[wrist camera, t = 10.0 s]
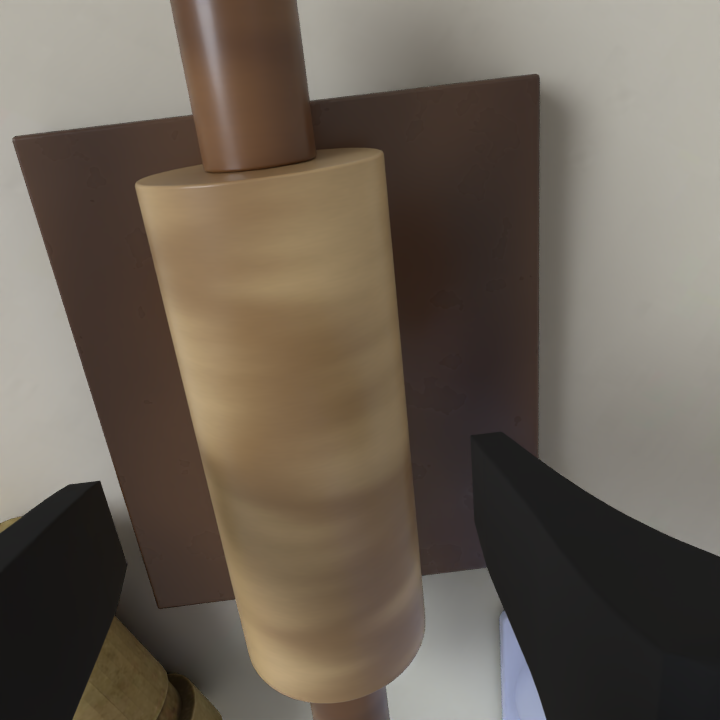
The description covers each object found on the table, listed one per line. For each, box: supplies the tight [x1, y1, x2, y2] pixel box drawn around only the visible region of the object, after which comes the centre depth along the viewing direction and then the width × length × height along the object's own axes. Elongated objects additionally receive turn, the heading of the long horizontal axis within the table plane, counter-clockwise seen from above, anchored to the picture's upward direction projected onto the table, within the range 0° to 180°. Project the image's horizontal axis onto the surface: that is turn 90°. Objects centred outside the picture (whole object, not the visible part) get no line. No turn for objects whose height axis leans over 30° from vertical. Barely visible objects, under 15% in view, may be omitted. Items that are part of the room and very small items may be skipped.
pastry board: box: [13, 74, 540, 609], centre depth 17 cm, size 12×14×2 cm
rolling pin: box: [135, 0, 425, 720], centre depth 15 cm, size 5×21×5 cm, turn 6°
